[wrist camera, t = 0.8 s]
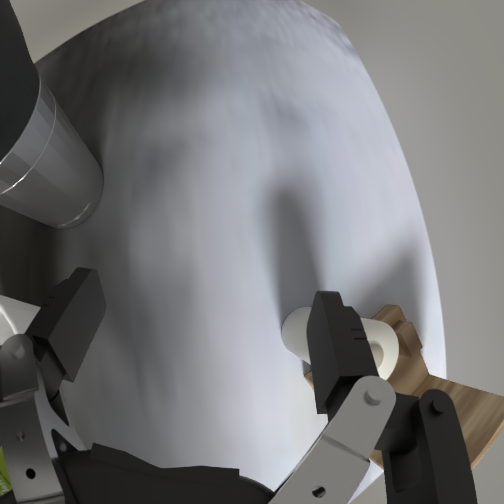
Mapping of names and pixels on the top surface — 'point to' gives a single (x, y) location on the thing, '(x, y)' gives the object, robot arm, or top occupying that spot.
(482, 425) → the holder
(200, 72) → the top surface
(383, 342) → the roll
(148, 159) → the top surface
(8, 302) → the cup
